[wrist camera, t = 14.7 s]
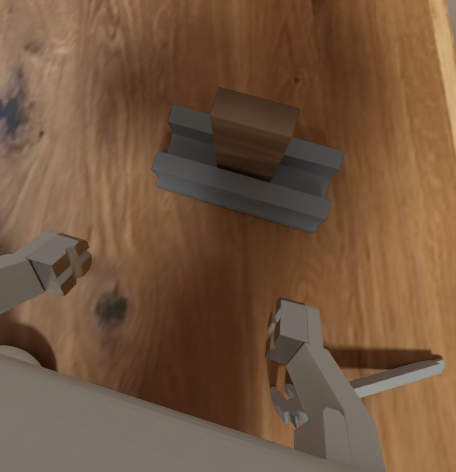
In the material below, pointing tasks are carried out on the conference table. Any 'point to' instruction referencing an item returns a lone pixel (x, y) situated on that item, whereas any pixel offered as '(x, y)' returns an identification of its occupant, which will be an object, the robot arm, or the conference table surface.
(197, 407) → the conference table surface
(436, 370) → the caliper
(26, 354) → the flower in vase
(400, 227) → the conference table surface
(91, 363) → the conference table surface
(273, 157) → the wooden picture frame
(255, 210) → the picture ledge
